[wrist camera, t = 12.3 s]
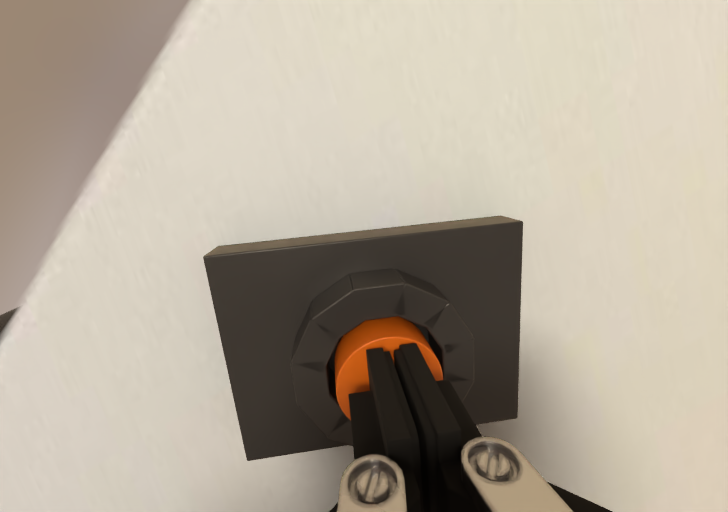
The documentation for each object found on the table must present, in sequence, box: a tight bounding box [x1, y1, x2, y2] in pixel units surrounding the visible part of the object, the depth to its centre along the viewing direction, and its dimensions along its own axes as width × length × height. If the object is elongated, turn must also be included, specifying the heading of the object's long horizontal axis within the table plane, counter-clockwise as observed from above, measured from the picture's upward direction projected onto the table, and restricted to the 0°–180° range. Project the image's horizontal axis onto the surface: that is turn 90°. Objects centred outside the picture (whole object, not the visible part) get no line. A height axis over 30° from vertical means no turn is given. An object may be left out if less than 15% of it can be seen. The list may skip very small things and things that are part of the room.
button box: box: [203, 216, 523, 461], centre depth 14 cm, size 12×9×4 cm
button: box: [334, 317, 443, 420], centre depth 12 cm, size 4×4×2 cm
